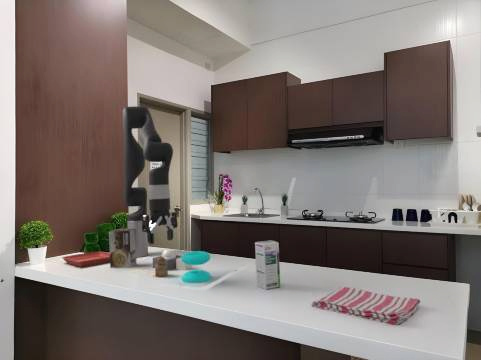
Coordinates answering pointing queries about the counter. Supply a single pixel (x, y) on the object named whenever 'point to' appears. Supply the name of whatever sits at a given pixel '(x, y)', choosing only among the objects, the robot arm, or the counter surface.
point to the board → (170, 263)
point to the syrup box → (267, 264)
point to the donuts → (196, 259)
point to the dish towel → (368, 305)
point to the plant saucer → (88, 259)
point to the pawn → (161, 267)
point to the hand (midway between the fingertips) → (160, 241)
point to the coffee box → (122, 248)
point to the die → (181, 265)
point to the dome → (168, 254)
